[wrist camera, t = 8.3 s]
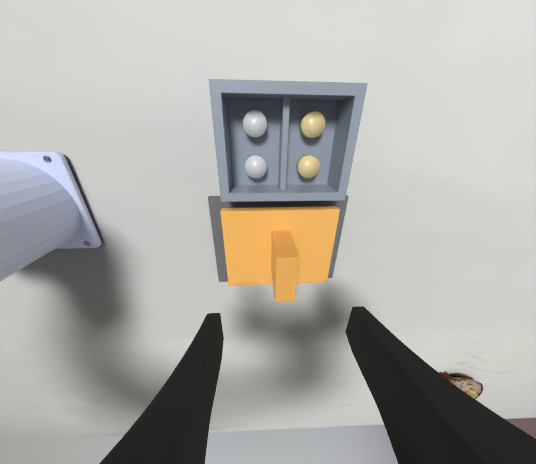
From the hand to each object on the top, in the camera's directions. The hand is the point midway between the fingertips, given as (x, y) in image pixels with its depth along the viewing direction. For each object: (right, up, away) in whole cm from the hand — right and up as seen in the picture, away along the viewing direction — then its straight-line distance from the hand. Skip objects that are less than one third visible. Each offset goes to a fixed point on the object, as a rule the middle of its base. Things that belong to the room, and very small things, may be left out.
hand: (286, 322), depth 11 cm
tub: (0, +12, +5) cm, 12 cm away
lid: (0, +4, +8) cm, 9 cm away
